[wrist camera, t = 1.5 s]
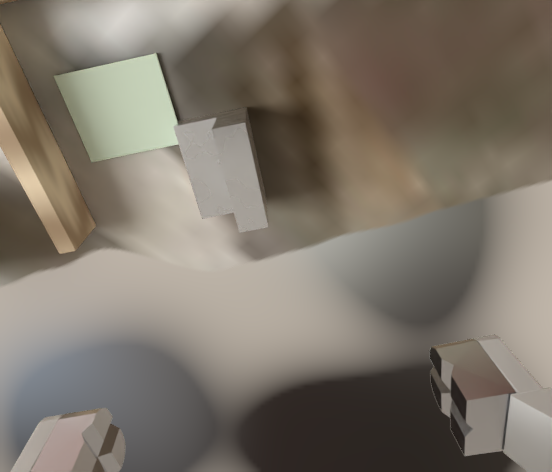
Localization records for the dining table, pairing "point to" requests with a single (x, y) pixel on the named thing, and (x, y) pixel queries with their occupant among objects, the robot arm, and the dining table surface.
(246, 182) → the bracket
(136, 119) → the pad
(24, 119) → the corner walls
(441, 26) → the dining table surface
